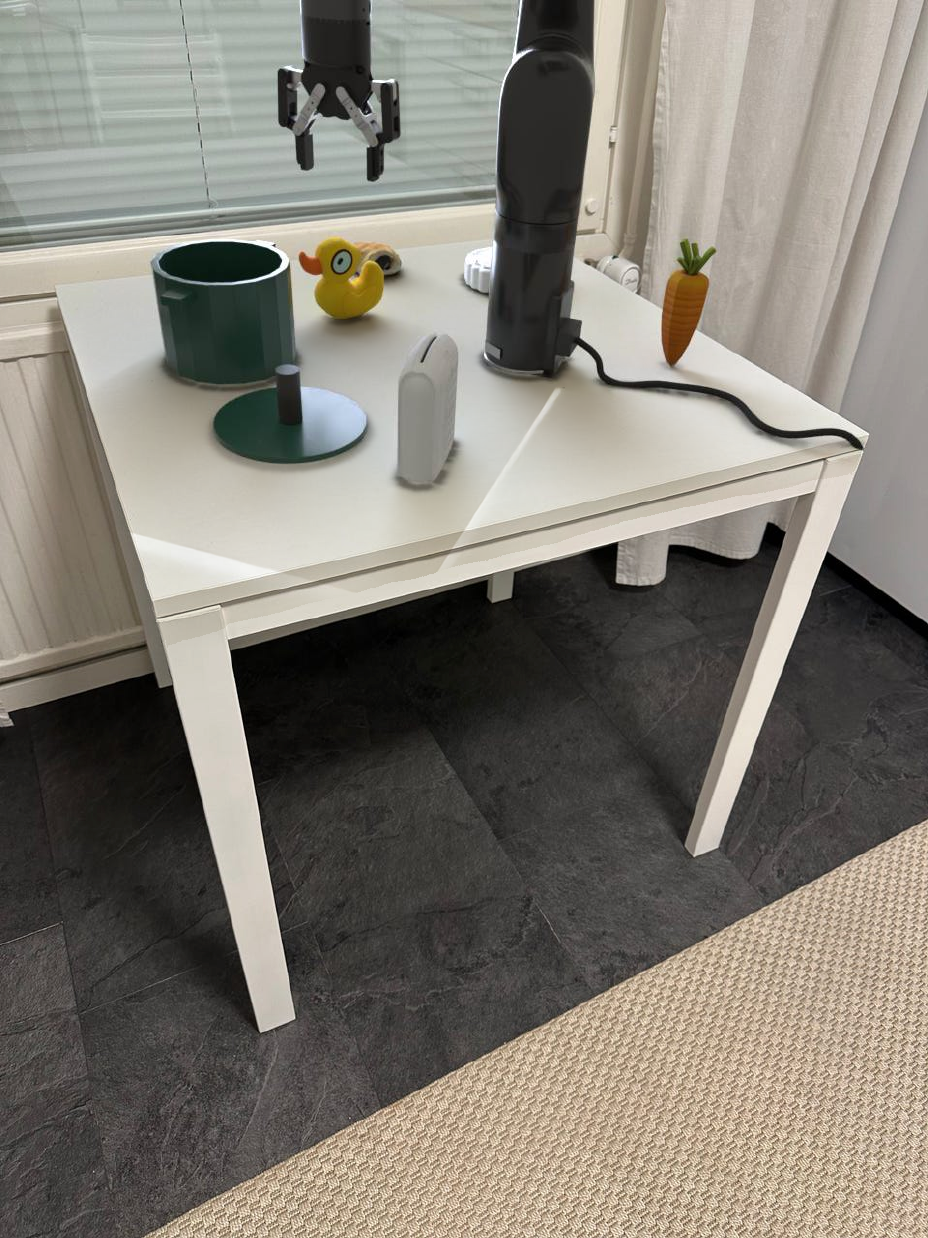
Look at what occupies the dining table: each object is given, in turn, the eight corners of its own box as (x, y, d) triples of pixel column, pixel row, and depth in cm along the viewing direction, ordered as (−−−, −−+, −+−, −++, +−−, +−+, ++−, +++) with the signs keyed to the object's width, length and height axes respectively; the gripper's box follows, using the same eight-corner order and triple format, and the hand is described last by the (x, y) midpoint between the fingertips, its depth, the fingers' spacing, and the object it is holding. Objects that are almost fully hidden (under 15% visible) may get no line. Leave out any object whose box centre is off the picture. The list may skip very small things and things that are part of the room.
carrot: (698, 366, 113) (727, 241, 104) (676, 378, 110) (704, 250, 101) (665, 353, 116) (690, 229, 106) (642, 364, 113) (666, 238, 103)
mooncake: (549, 299, 128) (552, 273, 126) (463, 294, 128) (464, 268, 125) (544, 270, 137) (547, 245, 135) (464, 265, 137) (465, 240, 134)
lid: (390, 413, 100) (390, 354, 95) (326, 482, 88) (323, 418, 84) (261, 385, 103) (256, 327, 99) (184, 448, 92) (174, 385, 87)
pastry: (338, 259, 136) (337, 232, 134) (380, 254, 139) (380, 228, 136) (363, 280, 130) (363, 252, 127) (407, 275, 132) (407, 248, 130)
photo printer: (418, 433, 96) (421, 318, 88) (458, 439, 96) (464, 324, 88) (391, 483, 89) (392, 361, 81) (435, 490, 88) (440, 368, 80)
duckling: (312, 332, 115) (308, 250, 109) (294, 316, 119) (289, 236, 112) (391, 317, 120) (392, 238, 114) (372, 303, 124) (371, 225, 117)
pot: (326, 340, 113) (322, 244, 106) (244, 409, 98) (232, 303, 91) (222, 320, 117) (211, 225, 109) (127, 382, 102) (106, 278, 94)
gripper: (258, 7, 97) (270, 173, 107) (383, 22, 94) (383, 191, 104) (292, 0, 103) (300, 159, 113) (411, 14, 99) (408, 176, 110)
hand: (340, 174), depth 108 cm, fingers open, 8 cm apart
